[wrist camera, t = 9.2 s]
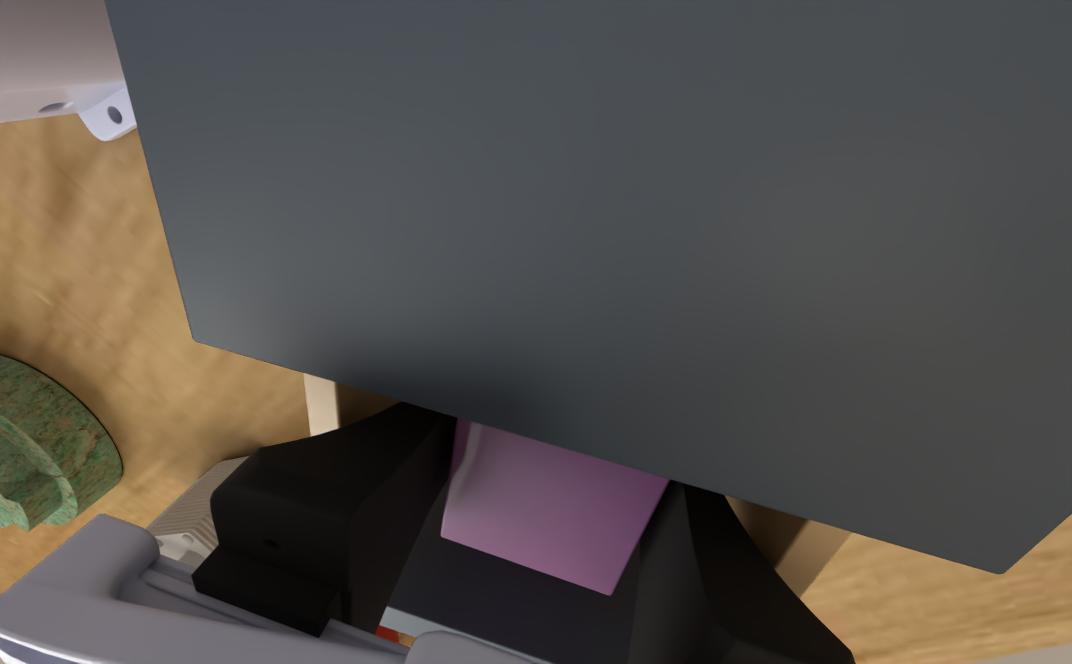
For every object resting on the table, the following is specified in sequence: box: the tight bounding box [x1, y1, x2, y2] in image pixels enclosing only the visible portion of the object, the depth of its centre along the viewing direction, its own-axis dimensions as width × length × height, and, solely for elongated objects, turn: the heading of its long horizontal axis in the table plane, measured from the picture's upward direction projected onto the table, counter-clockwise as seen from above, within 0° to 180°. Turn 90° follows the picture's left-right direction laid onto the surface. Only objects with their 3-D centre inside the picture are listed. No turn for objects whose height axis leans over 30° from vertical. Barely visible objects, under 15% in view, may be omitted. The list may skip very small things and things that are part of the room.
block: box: [441, 418, 670, 595], centre depth 14 cm, size 5×5×5 cm
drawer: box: [303, 373, 852, 664], centre depth 14 cm, size 19×12×7 cm, turn 172°
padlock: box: [145, 456, 249, 568], centre depth 22 cm, size 7×4×10 cm, turn 123°
